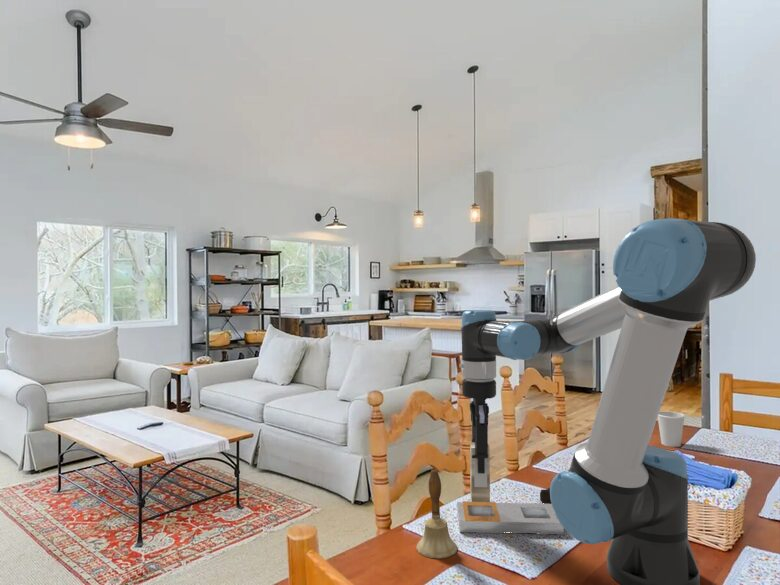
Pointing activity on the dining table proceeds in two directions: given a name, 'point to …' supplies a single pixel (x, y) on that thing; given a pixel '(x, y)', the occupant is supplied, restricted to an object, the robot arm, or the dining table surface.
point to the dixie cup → (671, 428)
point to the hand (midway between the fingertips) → (479, 482)
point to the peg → (476, 492)
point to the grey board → (507, 518)
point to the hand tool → (545, 496)
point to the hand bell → (436, 527)
